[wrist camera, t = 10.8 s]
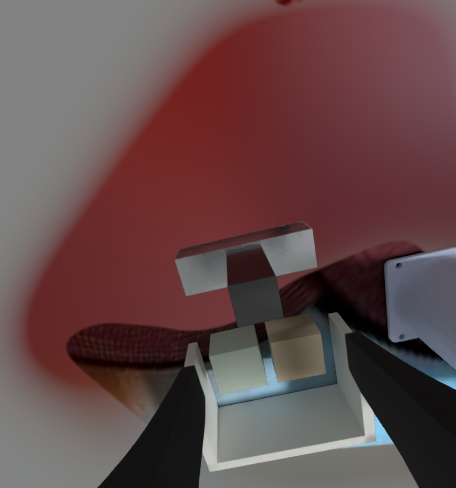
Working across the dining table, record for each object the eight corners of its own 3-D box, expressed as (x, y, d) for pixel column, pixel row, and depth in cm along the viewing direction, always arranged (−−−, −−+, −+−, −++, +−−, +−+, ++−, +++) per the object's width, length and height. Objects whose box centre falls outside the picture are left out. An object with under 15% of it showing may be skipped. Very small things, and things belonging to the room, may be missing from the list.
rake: (301, 221, 20) (349, 254, 12) (306, 255, 21) (354, 306, 13) (180, 249, 21) (155, 297, 13) (190, 281, 22) (172, 345, 14)
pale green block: (253, 323, 23) (257, 345, 20) (262, 358, 24) (267, 384, 21) (210, 333, 23) (208, 356, 20) (221, 367, 24) (221, 394, 21)
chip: (308, 312, 23) (321, 333, 20) (313, 348, 24) (325, 373, 21) (264, 320, 23) (270, 343, 20) (271, 356, 24) (278, 382, 21)
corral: (336, 312, 22) (367, 351, 18) (346, 388, 25) (376, 440, 20) (188, 343, 23) (179, 389, 18) (212, 414, 26) (210, 471, 21)
